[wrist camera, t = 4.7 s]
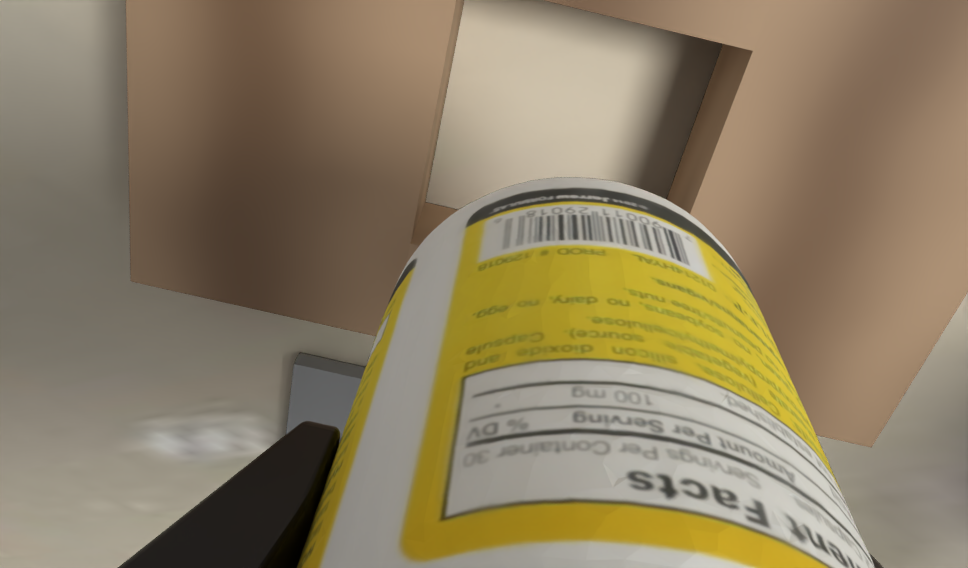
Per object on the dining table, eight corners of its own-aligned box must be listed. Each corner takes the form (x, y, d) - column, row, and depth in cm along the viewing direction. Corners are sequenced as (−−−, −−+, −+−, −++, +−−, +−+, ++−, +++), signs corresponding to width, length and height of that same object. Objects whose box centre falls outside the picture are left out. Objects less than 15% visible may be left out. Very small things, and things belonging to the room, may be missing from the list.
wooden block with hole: (1081, -34, 17) (1157, -16, 15) (842, 390, 23) (871, 447, 21) (178, -261, 16) (121, -275, 14) (171, 238, 22) (130, 281, 20)
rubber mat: (677, 436, 25) (679, 449, 24) (588, 634, 30) (589, 649, 29) (299, 352, 24) (293, 363, 24) (274, 567, 29) (269, 581, 29)
